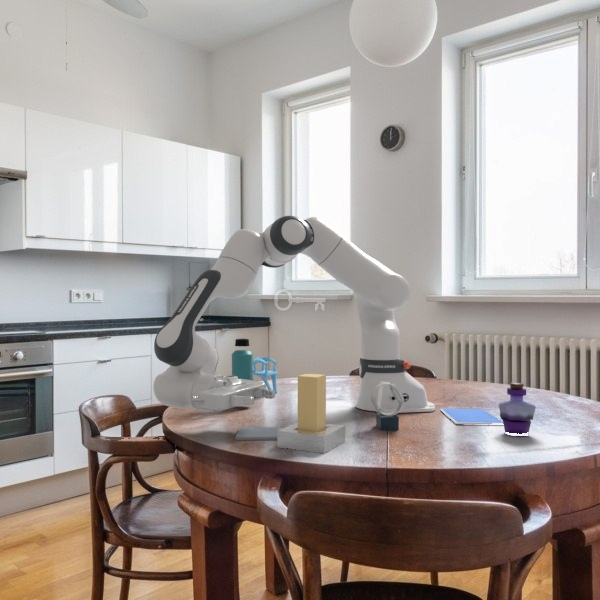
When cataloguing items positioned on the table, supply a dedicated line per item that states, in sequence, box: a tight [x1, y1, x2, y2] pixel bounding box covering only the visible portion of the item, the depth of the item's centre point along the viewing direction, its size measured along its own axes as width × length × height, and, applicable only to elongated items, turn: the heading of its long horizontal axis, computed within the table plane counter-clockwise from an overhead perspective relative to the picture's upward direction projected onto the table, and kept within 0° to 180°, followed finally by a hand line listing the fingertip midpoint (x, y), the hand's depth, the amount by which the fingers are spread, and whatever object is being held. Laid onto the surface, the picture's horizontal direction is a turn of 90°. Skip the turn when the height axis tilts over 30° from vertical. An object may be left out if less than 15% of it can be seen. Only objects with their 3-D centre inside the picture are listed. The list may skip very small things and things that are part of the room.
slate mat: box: [235, 426, 282, 441], centre depth 134 cm, size 10×10×1 cm
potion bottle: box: [498, 382, 536, 434], centre depth 135 cm, size 9×9×12 cm
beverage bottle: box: [231, 338, 254, 381], centre depth 167 cm, size 6×7×20 cm
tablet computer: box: [439, 408, 503, 425], centre depth 154 cm, size 19×13×1 cm, turn 179°
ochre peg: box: [297, 373, 327, 433], centre depth 125 cm, size 5×5×15 cm
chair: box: [253, 356, 279, 394], centre depth 193 cm, size 8×8×12 cm
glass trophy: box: [371, 382, 404, 432], centre depth 141 cm, size 6×8×11 cm
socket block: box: [276, 421, 346, 454], centre depth 125 cm, size 11×11×4 cm
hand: (263, 397), depth 131 cm, fingers open, 8 cm apart
